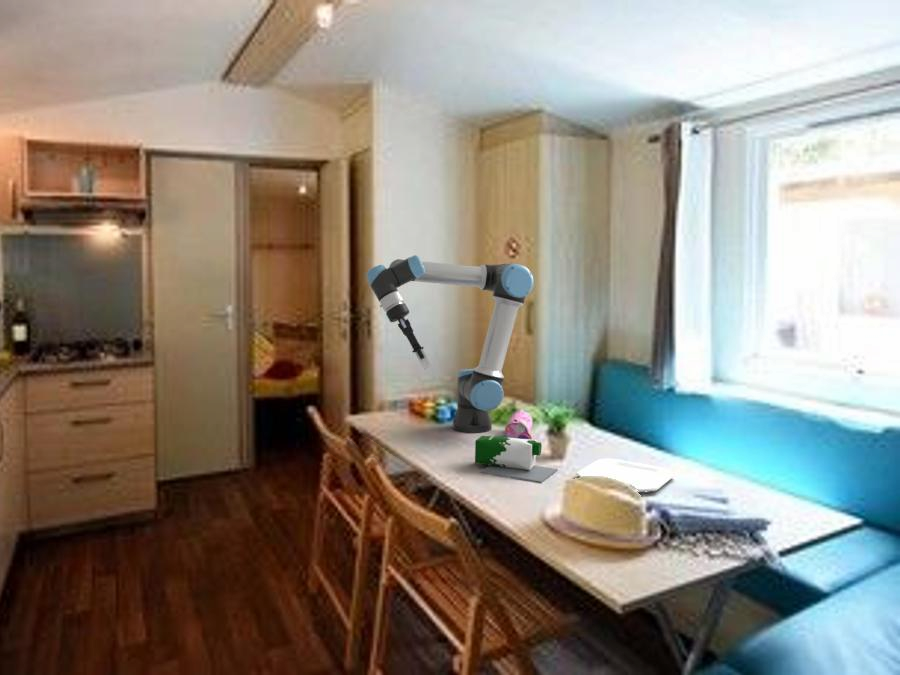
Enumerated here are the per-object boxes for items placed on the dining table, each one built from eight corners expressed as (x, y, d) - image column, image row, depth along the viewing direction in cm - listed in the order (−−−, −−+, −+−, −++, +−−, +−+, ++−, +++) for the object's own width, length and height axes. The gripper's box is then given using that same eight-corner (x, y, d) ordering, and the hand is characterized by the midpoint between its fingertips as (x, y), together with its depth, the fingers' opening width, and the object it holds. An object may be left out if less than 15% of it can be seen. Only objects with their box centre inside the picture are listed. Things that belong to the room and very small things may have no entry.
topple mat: (480, 472, 217) (480, 470, 216) (499, 461, 229) (499, 459, 229) (541, 483, 207) (541, 481, 207) (557, 470, 220) (557, 469, 219)
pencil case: (528, 446, 248) (529, 421, 246) (502, 444, 249) (503, 419, 248) (533, 431, 268) (534, 408, 267) (510, 430, 270) (510, 407, 269)
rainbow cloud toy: (539, 451, 241) (539, 430, 240) (533, 459, 232) (533, 437, 231) (515, 449, 244) (515, 428, 243) (508, 456, 235) (508, 435, 234)
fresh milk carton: (482, 432, 228) (543, 438, 222) (481, 459, 229) (542, 466, 222) (474, 438, 220) (537, 444, 213) (473, 466, 221) (536, 473, 214)
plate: (602, 462, 230) (602, 456, 229) (678, 477, 216) (679, 470, 215) (570, 482, 209) (570, 475, 209) (652, 499, 195) (652, 492, 195)
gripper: (387, 316, 248) (419, 374, 245) (382, 309, 235) (416, 371, 232) (406, 305, 248) (438, 363, 245) (402, 298, 235) (436, 360, 232)
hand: (427, 367), depth 239 cm, fingers closed
